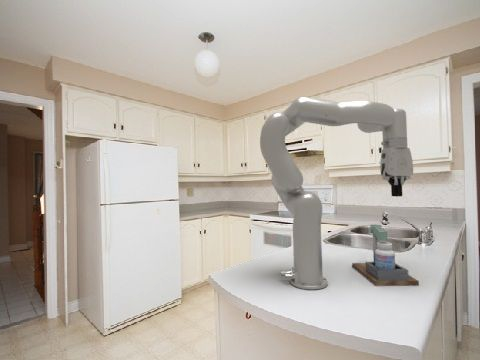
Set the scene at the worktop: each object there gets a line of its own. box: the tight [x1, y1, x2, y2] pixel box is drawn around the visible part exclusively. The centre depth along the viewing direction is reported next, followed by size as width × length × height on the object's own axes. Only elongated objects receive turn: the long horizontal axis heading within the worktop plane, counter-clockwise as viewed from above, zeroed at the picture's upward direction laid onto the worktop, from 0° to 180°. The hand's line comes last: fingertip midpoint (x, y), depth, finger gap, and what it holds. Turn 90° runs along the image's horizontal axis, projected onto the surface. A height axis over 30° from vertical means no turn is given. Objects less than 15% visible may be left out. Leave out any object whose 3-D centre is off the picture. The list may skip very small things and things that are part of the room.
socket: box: [364, 261, 409, 281], centre depth 90 cm, size 10×10×4 cm
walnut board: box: [351, 262, 420, 287], centre depth 95 cm, size 14×20×2 cm
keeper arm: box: [369, 223, 388, 242], centre depth 97 cm, size 17×4×3 cm, turn 161°
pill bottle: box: [375, 241, 396, 269], centre depth 90 cm, size 6×6×11 cm
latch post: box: [372, 233, 381, 262], centre depth 103 cm, size 2×2×12 cm
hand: (396, 196), depth 93 cm, fingers closed
